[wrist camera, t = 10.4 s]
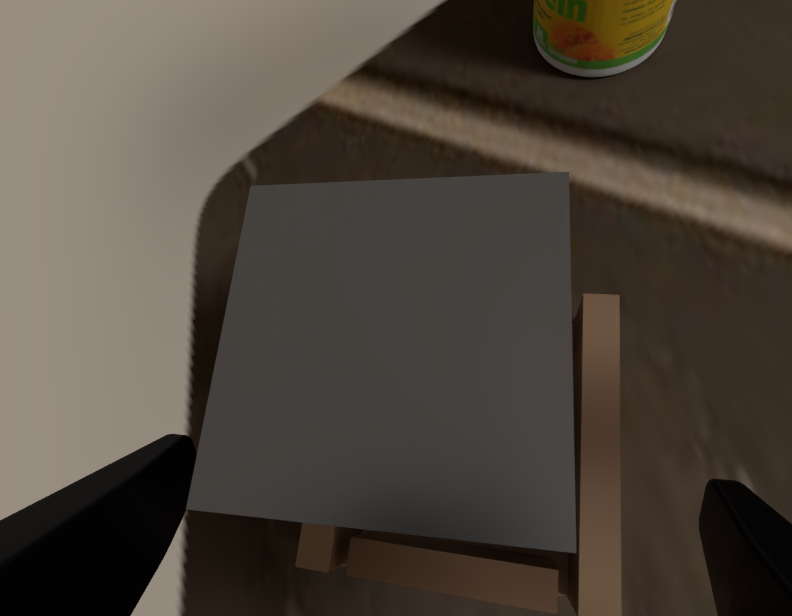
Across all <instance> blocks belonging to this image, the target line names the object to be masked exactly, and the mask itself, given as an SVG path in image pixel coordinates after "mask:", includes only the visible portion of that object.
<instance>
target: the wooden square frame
mask: <svg viewBox="0 0 792 616" xmlns="http://www.w3.org/2000/svg"><path fill="white" fill-rule="evenodd" d="M572 356H573V406H574V456H575V507H576V553H569V552H560V551H551V550H542V549H533V548H524V547H515V546H507V545H498V544H489V543H480V542H471V541H462V540H453V539H445V538H436V537H427V536H418V535H409V534H400V533H391V532H383V531H374V530H365V529H356V528H347V527H338V526H329V525H321V524H312V523H303V522H302V528H301V534H300V540H299V546H298V552H297V558H296V564H295V567H298V568H304V569H309V570H315V571H320V572H326V573H329V572H332V571H334V570H337V569H339V568H342V567H344V566H346V565H347V568H346V575H345V576H348V577H354V578H359V579H365V580H370V581H376V582H382V583H387V584H393V585H398V586H404V587H409V588H415V589H420V590H426V591H432V592H437V593H443V594H448V595H454V596H459V597H465V598H470V599H476V600H481V601H487V602H493V603H498V604H504V605H509V606H515V607H520V608H526V609H531V610H537V611H543V612H548V613H554V614H557V608H558V595H561V596H566V597H568V598H569V600H570V602H571V604H572V606H573V608H574V610H575V612H576V614H577V616H622V607H621V458H620V309H619V295H607V294H583V296H582V299H581V303H580V306H579V309H578V312H577V315H576V318H575V321H574V324H572Z"/></svg>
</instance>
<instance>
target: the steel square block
mask: <svg viewBox="0 0 792 616" xmlns="http://www.w3.org/2000/svg"><path fill="white" fill-rule="evenodd" d="M186 509H188V510H197V511H205V512H214V513H223V514H232V515H241V516H250V517H259V518H267V519H276V520H285V521H294V522H303V523H312V524H321V525H329V526H338V527H347V528H356V529H365V530H374V531H383V532H391V533H400V534H409V535H418V536H427V537H436V538H445V539H453V540H462V541H471V542H480V543H489V544H498V545H507V546H515V547H524V548H533V549H542V550H551V551H560V552H569V553H576V507H575V456H574V406H573V356H572V306H571V255H570V205H569V172H556V173H534V174H511V175H488V176H465V177H443V178H420V179H397V180H375V181H352V182H329V183H306V184H284V185H261V186H251V187H250V192H249V197H248V202H247V207H246V212H245V217H244V222H243V227H242V232H241V237H240V242H239V247H238V252H237V257H236V262H235V267H234V272H233V277H232V282H231V287H230V292H229V297H228V302H227V307H226V312H225V317H224V322H223V327H222V332H221V337H220V342H219V347H218V352H217V357H216V362H215V367H214V372H213V377H212V382H211V387H210V392H209V397H208V402H207V407H206V412H205V417H204V422H203V427H202V432H201V437H200V442H199V447H198V452H197V457H196V462H195V467H194V472H193V477H192V481H191V486H190V491H189V496H188V501H187V506H186Z"/></svg>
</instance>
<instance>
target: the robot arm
mask: <svg viewBox="0 0 792 616" xmlns="http://www.w3.org/2000/svg"><path fill="white" fill-rule="evenodd" d="M196 457H197V454H196V450H195V447H194V444H193V441H192V439H191V438H190V437H189V436H187V435H176V434H169V435H166V436H164V437H162V438H160V439H158V440H156V441H154V442H152V443H150V444H148V445H146V446H144V447H143V448H140V449H139V450H137V451H135V452H133V453H131V454H129V455H127V456H125V457H123V458H121V459H119V460H117V461H115V462H113V463H112V464H109V465H107V466H106V467H104V468H102V469H100V470H98V471H96V472H94V473H92V474H90V475H88V476H86V477H84V478H82V479H80V480H78V481H76V482H74V483H72V484H70V485H69V486H67V487H65V488H63V489H61V490H59V491H57V492H55V493H53V494H51V495H50V496H47V497H45V498H43V499H41V500H39V501H37V502H35V503H33V504H32V505H30V506H28V507H26V508H24V509H22V510H20V511H18V512H16V513H14V514H12V515H10V516H8V517H6V518H4V519H2V520H0V616H130V615H131V614H132V612H133V610H134V608H135V607H136V605H137V603H138V601H139V600H140V598H141V596H142V595H143V593H144V591H145V589H146V588H147V586H148V584H149V582H150V581H151V579H152V577H153V575H154V574H155V572H156V570H157V569H158V567H159V565H160V563H161V561H162V560H163V558H164V556H165V554H166V552H167V550H168V548H169V546H170V544H171V542H172V539H173V537H174V535H175V533H176V531H177V529H178V527H179V524H180V522H181V520H182V518H183V516H184V514H185V511H186V506H187V501H188V496H189V491H190V486H191V481H192V477H193V472H194V467H195V462H196ZM699 532H700V537H701V541H702V546H703V550H704V555H705V560H706V564H707V569H708V573H709V578H710V582H711V587H712V591H713V596H714V600H715V605H716V609H717V614H718V616H792V524H791V523H790V522H789V521H787V520H786V519H785V518H784V517H783V516H781V515H780V514H779V513H778V512H776V511H775V510H774V509H773V508H772V507H770V506H769V505H768V504H767V503H766V502H764V501H763V500H762V499H761V498H759V497H758V496H757V495H756V494H755V493H753V492H752V491H751V490H750V489H749V488H747V487H746V486H745V485H744V484H742V483H740V482H738V481H734V480H722V479H711V480H709V481H708V483H707V485H706V488H705V493H704V497H703V502H702V507H701V511H700V516H699Z"/></svg>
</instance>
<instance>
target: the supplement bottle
mask: <svg viewBox="0 0 792 616" xmlns="http://www.w3.org/2000/svg"><path fill="white" fill-rule="evenodd" d="M675 3H676V0H534V9H533V34H534V40H535V44H536V46H537V48H538V50H539V52H540V54H541V55H542V56H543V57H544V59H545V60H546V61H548V62H549V63H550V64H551V65H553V66H554V67H556V68H557V69H559V70H561V71H564V72H566V73H569V74H573V75H577V76H583V77H604V76H610V75H615V74H618V73H621V72H624V71H626V70H628V69H631V68H633V67H635V66H636V65H638V64H639V63H641V62H642V61H644V60H645V59H646V58H647V57H649V56H650V55H651V54H652V53H653V52H654V51H655V49H656V48H657V47H658V45H659V44H660V42H661V40H662V39H663V37H664V35H665V32H666V30H667V27H668V24H669V22H670V19H671V16H672V13H673V10H674V6H675Z"/></svg>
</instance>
